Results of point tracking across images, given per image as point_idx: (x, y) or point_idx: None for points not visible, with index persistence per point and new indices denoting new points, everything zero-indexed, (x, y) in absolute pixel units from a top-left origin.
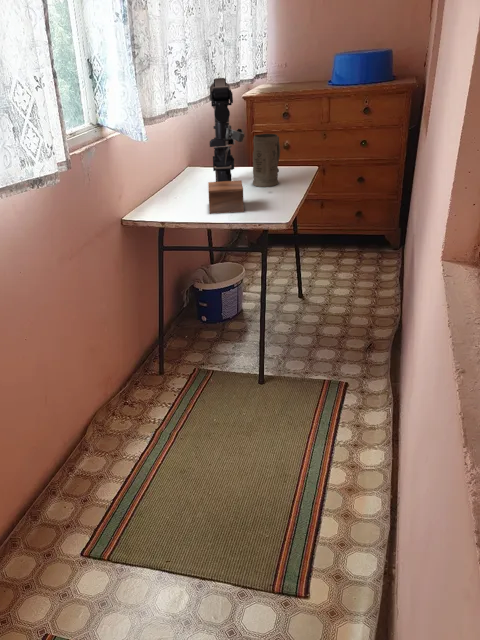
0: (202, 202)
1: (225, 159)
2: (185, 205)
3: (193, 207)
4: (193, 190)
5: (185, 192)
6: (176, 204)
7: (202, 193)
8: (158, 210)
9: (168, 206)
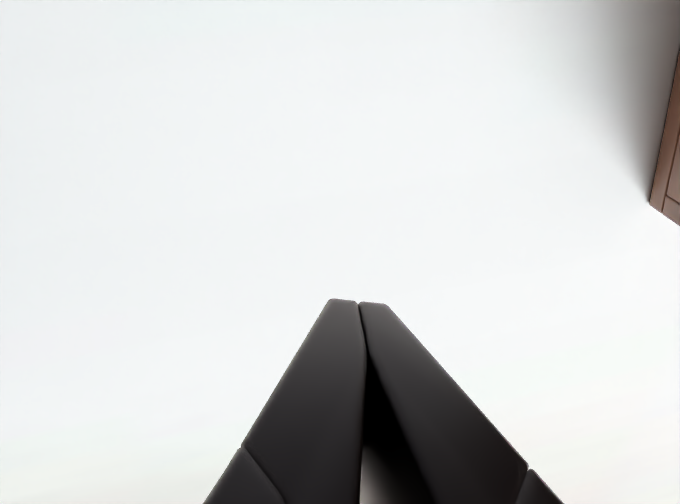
0: (538, 280)
1: (408, 387)
2: (587, 384)
3: (671, 316)
4: (61, 448)
5: (147, 486)
6: (535, 445)
7: (187, 349)
8: (646, 497)
9: (571, 475)
